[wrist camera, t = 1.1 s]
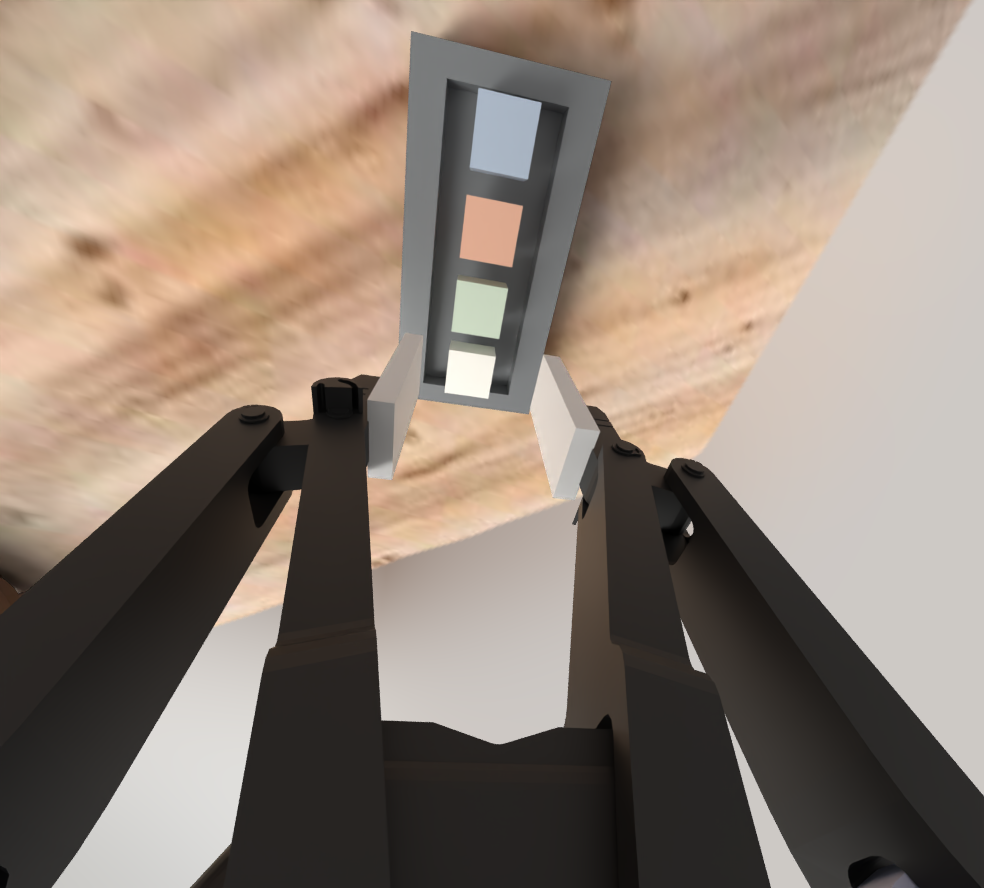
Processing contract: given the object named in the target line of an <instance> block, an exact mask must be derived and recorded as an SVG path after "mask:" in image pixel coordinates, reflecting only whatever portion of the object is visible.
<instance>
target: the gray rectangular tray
mask: <svg viewBox="0 0 984 888" xmlns="http://www.w3.org/2000/svg"><path fill="white" fill-rule="evenodd" d="M610 85H611V81H609V80H605V79H601V78H597V77H593V76H589V75H585V74H581V73H577V72H573V71H569V70H565V69H561V68H557V67H553V66H549V65H545V64H541V63H537V62H533V61H529V60H525V59H521V58H517V57H513V56H509V55H505V54H501V53H497V52H493V51H489V50H485V49H481V48H477V47H473V46H469V45H465V44H461V43H457V42H453V41H449V40H445V39H441V38H437V37H433V36H429V35H425V34H421V33H417V32H413V31H411V48H410V73H409V99H408V124H407V150H406V175H405V201H404V226H403V252H402V277H401V303H400V328H399V343H400V341H401V339H402V338H403V336H404V334H405V333H411V334H417V335H423V346H422V360H421V374H420V387H419V395H418V398H417V399H421V400H428V401H436V402H443V403H450V404H458V405H465V406H472V407H479V408H487V409H494V410H501V411H509V412H516V413H523V414H529V410H530V406H531V402H532V398H533V394H534V390H535V386H536V382H537V378H538V374H539V370H540V366H541V362H542V358H543V354H544V350H545V346H546V342H547V338H548V334H549V330H550V326H551V322H552V318H553V314H554V310H555V306H556V302H557V298H558V294H559V290H560V286H561V282H562V278H563V274H564V270H565V266H566V262H567V258H568V254H569V250H570V246H571V242H572V238H573V234H574V229H575V225H576V221H577V217H578V213H579V209H580V205H581V201H582V197H583V193H584V189H585V185H586V181H587V177H588V173H589V169H590V165H591V161H592V157H593V153H594V149H595V145H596V141H597V137H598V133H599V129H600V125H601V121H602V117H603V113H604V109H605V105H606V101H607V97H608V93H609V89H610ZM479 88H482V89H486V90H490V91H494V92H498V93H503V94H507V95H511V96H515V97H520V98H524V99H528V100H532V101H536V102H541V103H542V104H541V109H540V115H539V120H538V126H537V132H536V137H535V143H534V148H533V154H532V159H531V165H530V170H529V176H528V180H526V181H519V180H514V179H509V178H505V177H500V176H495V175H490V174H486V173H481V172H476V171H471V170H470V160H471V151H472V142H473V134H474V125H475V116H476V107H477V98H478V89H479ZM467 195H471V196H476V197H481V198H486V199H491V200H496V201H501V202H506V203H511V204H516V205H521V206H523V209H522V215H521V220H520V226H519V231H518V237H517V242H516V248H515V253H514V259H513V265H512V267H507V266H502V265H496V264H491V263H485V262H480V261H474V260H469V259H463V258H460V250H461V241H462V232H463V223H464V214H465V205H466V196H467ZM458 275H464V276H470V277H475V278H481V279H486V280H492V281H498V282H503V283H506V284H507V287H508V292H507V298H506V303H505V309H504V314H503V320H502V325H501V331H500V337H499V339H495V338H489V337H483V336H476V335H470V334H464V333H458V332H451V330H452V321H453V312H454V303H455V294H456V285H457V279H458ZM451 340H453V341H459V342H466V343H472V344H478V345H485V346H491V347H495V354H496V359H495V364H494V370H493V375H492V381H491V386H490V392H489V397H488V399H486V398H479V397H472V396H465V395H458V394H451V393H445V384H446V375H447V366H448V357H449V349H450V344H451Z"/></svg>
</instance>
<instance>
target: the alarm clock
mask: <svg viewBox="0 0 984 888" xmlns="http://www.w3.org/2000/svg"><path fill="white" fill-rule="evenodd" d="M25 593H26V592H25ZM23 594H24V593H20V594H18V593H17V592H16V590H15V589H14V588H13V587H12V586H11V585H10V584H9V583H8V582H7V581H5V580H4V579H2V578H0V615H1V614H2V613H3V612H4V611H5V610H6V609H8V608H9V607H10V606H11V605H12V604H13V603H14V602H15V601H17V600H18V599H19V598H20V597H21V596H22V595H23Z"/></svg>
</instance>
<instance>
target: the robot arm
mask: <svg viewBox="0 0 984 888" xmlns="http://www.w3.org/2000/svg"><path fill="white" fill-rule="evenodd" d="M422 346H423V335H417V334H411V333H405V334H404V336H403V338H402V339H401V341H400V343H399V345H398V346H397V348H396V350H395V352H394V354H393V355H392V357H391V359H390V361H389V362H388V364H387V366H386V368H385V369H384V371H383V373H382V375H381V376H380V377H376V376H369V375H362V374H361V375H359V376H357V377H355V378H353V379H348V378H339V377H335V378H325V379H321V380H318V381H316V382H314V383H313V385H312V386H311V390H312V401H313V412H314V414H313V419H310V420H302V421H283V417H282V414H281V412H280V410H278V409H276V408H274V407H270V406H265V405H251V406H250V405H247V406H243V407H241V408H237V409H234V410H232V411H231V412H229V413H227V414H226V415H225V416H224V417H223V418H222V419H220V420H219V421H218V422H217V423H216V424H215V425H214V426H213V427H211V428H210V429H209V430H208V431H207V432H206V433H205V434H204V435H202V436H201V437H200V438H199V439H198V440H197V441H196V442H195V443H193V444H192V445H191V446H190V447H189V448H188V449H187V450H186V451H184V452H183V453H182V454H181V455H180V456H179V457H178V458H177V459H175V460H174V461H173V462H172V463H171V464H170V465H169V466H168V467H166V468H165V469H164V470H163V471H162V472H161V473H160V474H159V475H157V476H156V477H155V478H154V479H153V480H152V481H151V482H149V483H148V484H147V485H146V486H145V487H144V488H143V489H142V490H140V491H139V492H138V493H137V494H136V495H135V496H134V497H133V498H131V499H130V500H129V501H128V502H127V503H126V504H125V505H124V506H122V507H121V508H120V509H119V510H118V511H117V512H116V513H115V514H113V515H112V516H111V517H110V518H109V519H108V520H107V521H106V522H104V523H103V524H102V525H101V526H100V527H99V528H98V529H97V530H95V531H94V532H93V533H92V534H91V535H90V536H89V537H88V538H86V539H85V540H84V541H83V542H82V543H81V544H80V545H79V546H77V547H76V548H75V549H74V550H73V551H72V552H71V553H70V554H68V555H67V556H66V557H65V558H64V559H63V560H62V561H60V562H59V563H58V564H57V565H56V566H55V567H54V568H53V569H51V570H50V571H49V572H48V573H47V574H46V575H45V576H44V577H42V578H41V579H40V580H39V581H38V582H37V583H36V584H35V585H33V586H32V587H31V588H30V589H29V590H28V591H27V592H26V593H24V594H23V595H22V596H21V597H20V598H19V599H18V600H17V601H15V602H14V603H13V604H12V605H11V606H10V607H9V608H8V609H6V610H5V611H4V612H3V613H2V614H1V615H0V888H52V886H53V885H54V883H55V882H56V881H57V879H58V878H59V877H60V875H61V874H62V872H63V871H64V869H65V868H66V867H67V866H68V864H69V863H70V862H71V860H72V859H73V857H74V856H75V855H76V853H77V852H78V850H79V849H80V847H81V846H82V844H83V843H84V841H85V839H86V838H87V836H88V835H89V833H90V832H91V830H92V829H93V827H94V825H95V824H96V822H97V821H98V819H99V818H100V816H101V814H102V813H103V811H104V810H105V808H106V807H107V805H108V803H109V802H110V800H111V799H112V797H113V795H114V793H115V792H116V790H117V788H118V787H119V785H120V783H121V782H122V780H123V778H124V776H125V775H126V773H127V771H128V770H129V768H130V766H131V765H132V763H133V761H134V760H135V758H136V756H137V755H138V753H139V751H140V750H141V748H142V746H143V745H144V743H145V741H146V739H147V738H148V736H149V734H150V733H151V731H152V729H153V728H154V726H155V724H156V722H157V721H158V719H159V718H160V716H161V714H162V712H163V711H164V709H165V707H166V706H167V704H168V702H169V701H170V699H171V697H172V696H173V694H174V692H175V691H176V689H177V687H178V686H179V684H180V682H181V680H182V678H183V677H184V675H185V674H186V672H187V670H188V669H189V667H190V665H191V663H192V662H193V660H194V659H195V657H196V655H197V653H198V652H199V650H200V648H201V647H202V645H203V643H204V641H205V640H206V638H207V637H208V635H209V633H210V631H211V630H212V628H213V626H214V625H215V623H216V621H217V620H218V618H219V616H220V615H221V613H222V611H223V610H224V608H225V606H226V605H227V603H228V601H229V599H230V598H231V596H232V594H233V593H234V591H235V589H236V588H237V586H238V584H239V583H240V581H241V579H242V578H243V576H244V574H245V572H246V571H247V569H248V567H249V566H250V564H251V562H252V561H253V559H254V557H255V556H256V554H257V552H258V551H259V549H260V547H261V545H262V544H263V542H264V540H265V539H266V537H267V535H268V534H269V532H270V530H271V529H272V527H273V525H274V524H275V522H276V520H277V518H278V517H279V515H280V513H281V512H282V510H283V508H284V507H285V505H286V503H287V502H288V500H289V498H290V497H291V495H292V491H293V490H300V489H302V490H301V496H300V502H299V509H298V515H297V521H296V527H295V534H294V540H293V546H292V552H291V559H290V565H289V571H288V578H287V584H286V590H285V596H284V603H283V609H282V615H281V621H280V628H279V634H278V639H277V643H276V645H275V647H273V648H271V649H269V651H268V654H267V656H266V659H265V663H264V667H263V672H262V677H261V682H260V688H259V693H258V699H257V705H256V711H255V716H254V721H253V727H252V732H251V738H250V744H249V749H248V754H247V760H246V766H245V771H244V777H243V782H242V788H241V793H240V799H239V805H238V810H237V816H236V821H235V827H234V833H233V838H232V843H231V844H230V845H229V846H228V847H227V849H226V850H225V851H224V852H223V853H222V854H221V855H220V856H219V857H218V858H217V859H216V860H215V861H214V863H213V864H212V865H211V866H210V867H209V868H208V869H207V870H206V871H205V872H204V873H203V874H202V875H201V877H200V878H199V879H198V880H197V881H196V882H195V883H194V884H193V885H192V886H191V887H190V888H771V887H770V883H769V879H768V875H767V871H766V868H765V864H764V860H763V856H762V853H761V849H760V845H759V841H758V837H757V834H756V830H755V826H754V822H753V819H752V815H751V811H750V807H749V804H748V800H747V796H746V793H745V789H744V785H743V782H742V777H741V774H740V770H739V766H738V762H737V759H736V755H735V751H734V748H733V744H732V740H731V736H730V733H729V729H728V725H727V722H726V717H727V719H728V721H729V723H730V726H731V728H732V730H733V732H734V735H735V737H736V739H737V741H738V743H739V745H740V747H741V749H742V752H743V754H744V756H745V758H746V760H747V763H748V765H749V767H750V769H751V771H752V773H753V776H754V778H755V780H756V782H757V784H758V786H759V788H760V791H761V793H762V795H763V797H764V799H765V801H766V803H767V806H768V808H769V810H770V812H771V814H772V816H773V818H774V820H775V822H776V824H777V826H778V828H779V830H780V832H781V834H782V836H783V838H784V840H785V842H786V844H787V846H788V848H789V850H790V852H791V854H792V855H793V857H794V859H795V861H796V862H797V864H798V866H799V867H800V869H801V871H802V873H803V874H804V876H805V878H806V880H807V881H808V883H809V885H810V887H811V888H984V796H983V794H982V793H981V792H980V791H979V790H978V789H977V787H976V786H975V785H974V784H973V783H972V781H971V780H970V779H969V778H968V777H967V776H966V774H965V773H964V772H963V771H962V769H961V768H960V767H959V766H958V765H957V763H956V762H955V761H954V760H953V759H952V758H951V756H950V755H949V754H948V753H947V752H946V750H945V749H944V748H943V747H942V746H941V745H940V743H939V742H938V741H937V740H936V739H935V737H934V736H933V735H932V734H931V732H930V731H929V730H928V729H927V728H926V727H925V725H924V724H923V723H922V722H921V721H920V719H919V718H918V717H917V716H916V715H915V713H914V712H913V711H912V710H911V709H910V707H909V706H908V705H907V704H906V703H905V702H904V700H903V699H902V698H901V697H900V696H899V694H898V693H897V692H896V691H895V690H894V688H893V687H892V686H891V685H890V684H889V682H888V681H887V680H886V679H885V678H884V676H882V674H881V673H880V672H879V670H878V669H877V668H876V667H875V666H874V665H873V663H872V662H871V661H870V660H869V659H868V657H867V656H866V655H865V654H864V653H863V651H862V650H861V649H860V648H859V647H858V645H857V644H856V643H855V642H854V641H853V640H852V638H851V637H850V636H849V635H848V634H847V632H846V631H845V630H844V629H843V628H842V626H841V625H840V624H839V623H838V622H837V620H836V619H835V618H834V617H833V616H832V615H831V613H830V612H829V611H828V610H827V609H826V607H825V606H824V605H823V604H822V603H821V601H820V600H819V599H818V598H817V597H816V595H815V594H814V593H813V592H812V591H811V589H810V588H809V587H808V586H807V585H806V584H805V582H804V581H803V580H802V579H801V577H800V576H799V575H798V574H797V573H796V572H795V570H794V569H793V568H792V567H791V566H790V564H789V563H788V562H787V561H786V560H785V558H784V557H783V556H782V555H781V554H780V553H779V551H778V550H777V549H776V548H775V546H774V545H773V544H772V543H771V542H770V541H769V539H768V538H767V537H766V536H765V535H764V533H763V532H762V531H761V530H760V529H759V527H758V526H757V525H756V524H755V523H754V522H753V520H752V519H751V518H750V517H749V515H748V514H747V513H746V512H745V511H744V510H743V508H742V507H741V506H740V505H739V504H738V502H737V501H736V500H735V499H734V498H733V497H732V495H731V494H730V493H729V492H728V490H727V489H726V488H725V487H724V486H723V484H722V483H721V482H720V481H719V480H718V479H717V477H716V476H715V475H714V474H713V473H712V472H711V471H710V470H709V469H708V468H706V467H705V466H703V465H702V464H701V463H699V462H695V461H694V460H691V459H690V460H689V459H684V458H675V459H673V460H672V461H671V463H670V465H669V467H668V469H666V468H663V467H660V466H656V465H653V464H650V463H647V462H646V459H645V455H644V453H643V451H642V450H640V449H639V448H638V447H637V446H635V445H633V444H631V443H629V442H626V441H624V440H621V439H620V437H619V436H618V434H617V432H616V431H615V429H614V428H613V426H612V424H611V423H610V422H609V419H608V418H607V416H606V414H605V413H603V412H602V411H601V410H600V409H598V408H597V407H594V406H587V405H586V404H585V402H584V400H583V399H582V397H581V395H580V393H579V391H578V389H577V388H576V386H575V384H574V382H573V380H572V378H571V376H570V375H569V373H568V371H567V369H566V367H565V365H564V364H563V362H562V360H561V358H560V357H558V356H551V355H545V354H543V358H542V362H541V366H540V370H539V374H538V378H537V382H536V386H535V390H534V394H533V398H532V402H531V406H530V411H531V415H532V419H533V423H534V426H535V430H536V434H537V438H538V442H539V446H540V450H541V454H542V458H543V461H544V465H545V469H546V473H547V477H548V481H549V485H550V489H551V493H552V496H553V498H559V499H568V500H575V498H576V495H577V492H578V490H579V487H580V488H581V491H582V494H583V497H582V500H581V503H580V505H579V508H578V510H577V513H576V516H575V518H574V521H573V523H572V524H574V525H576V523H577V521H578V530H577V546H576V564H575V580H574V598H573V614H572V631H571V648H570V665H569V682H568V699H567V712H566V719H565V724H564V727H558V728H555V729H551V730H548V731H545V732H541V733H538V734H535V735H531V736H528V737H525V738H521V739H518V740H515V741H512V742H508V743H505V744H493V743H489V742H487V741H483V740H481V739H478V738H475V737H472V736H470V735H467V734H464V733H461V732H459V731H456V730H453V729H450V728H447V727H445V726H442V725H439V724H436V723H433V722H407V721H382V720H381V708H380V690H379V672H378V654H377V638H376V630H375V625H374V608H373V588H372V569H371V550H370V531H369V513H368V494H367V475H366V467H367V465H368V477H370V478H379V479H388V480H392V478H393V475H394V472H395V469H396V466H397V462H398V459H399V456H400V453H401V450H402V446H403V443H404V440H405V437H406V434H407V430H408V427H409V424H410V421H411V417H412V414H413V411H414V408H415V405H416V401H417V398H418V395H419V387H420V374H421V360H422ZM691 521H692V523H693V528H694V530H693V534H692V535H691V536H690V535H689V534H688V532H687V530H686V529H687V527H688V526H689V524H690V522H691ZM681 620H682V622H683V624H684V627H685V629H686V631H687V633H688V635H689V637H690V639H691V641H692V644H693V646H694V648H695V650H696V652H697V655H698V657H699V659H700V661H701V663H702V665H703V667H704V670H705V672H706V673H703V672H699V671H697V670H694V668H693V667H692V665H691V662H690V659H689V655H688V650H687V646H686V642H685V637H684V632H683V628H682V623H681ZM724 713H725V714H724ZM725 715H726V717H725Z"/></svg>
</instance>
